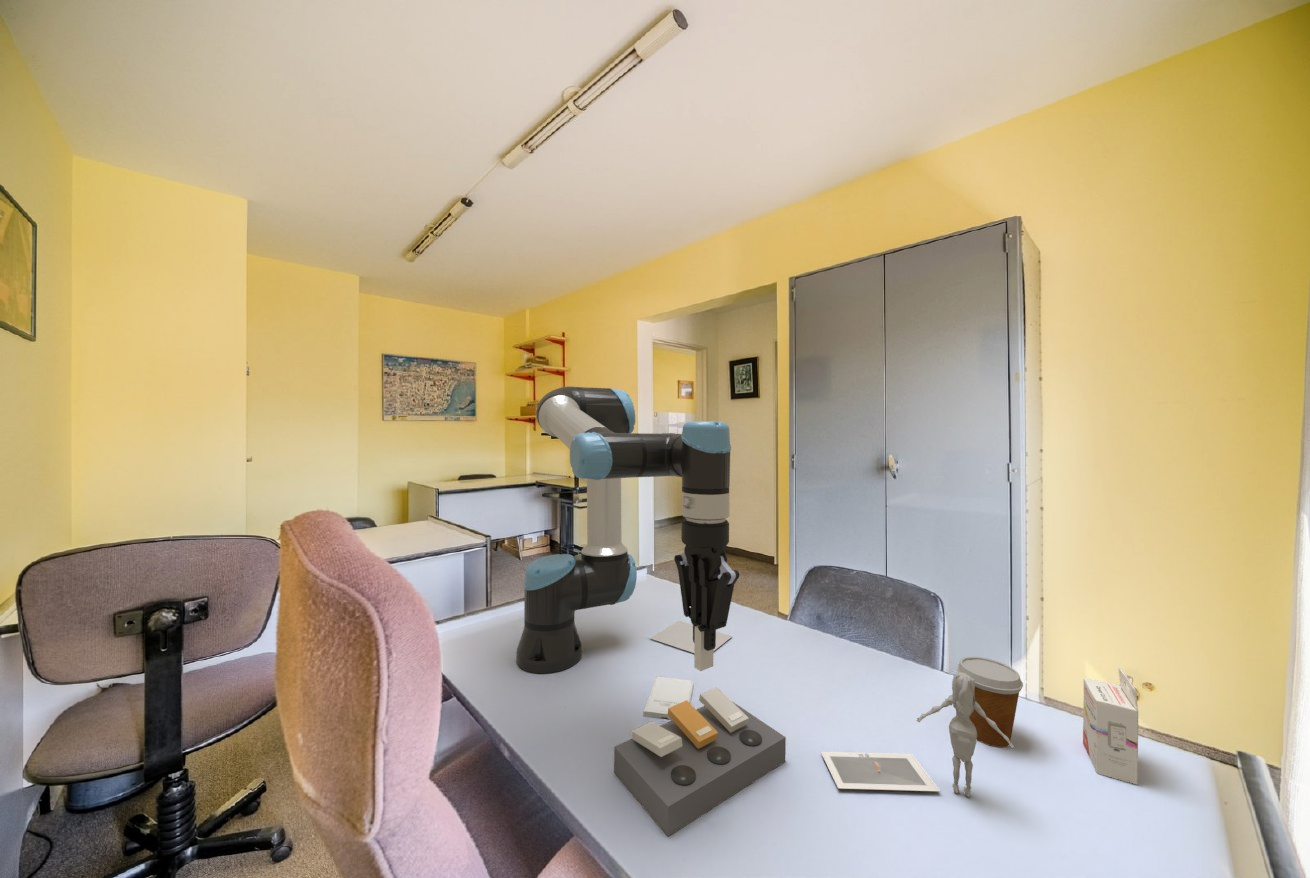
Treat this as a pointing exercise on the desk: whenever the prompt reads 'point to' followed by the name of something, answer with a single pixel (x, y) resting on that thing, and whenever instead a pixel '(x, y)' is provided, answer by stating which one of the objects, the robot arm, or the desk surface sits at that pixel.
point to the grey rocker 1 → (656, 739)
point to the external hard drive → (667, 696)
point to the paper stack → (684, 636)
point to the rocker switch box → (698, 769)
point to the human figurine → (963, 726)
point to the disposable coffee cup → (993, 697)
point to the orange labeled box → (692, 724)
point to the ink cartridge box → (1111, 728)
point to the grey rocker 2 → (723, 709)
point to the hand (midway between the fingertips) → (703, 666)
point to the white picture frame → (878, 771)
